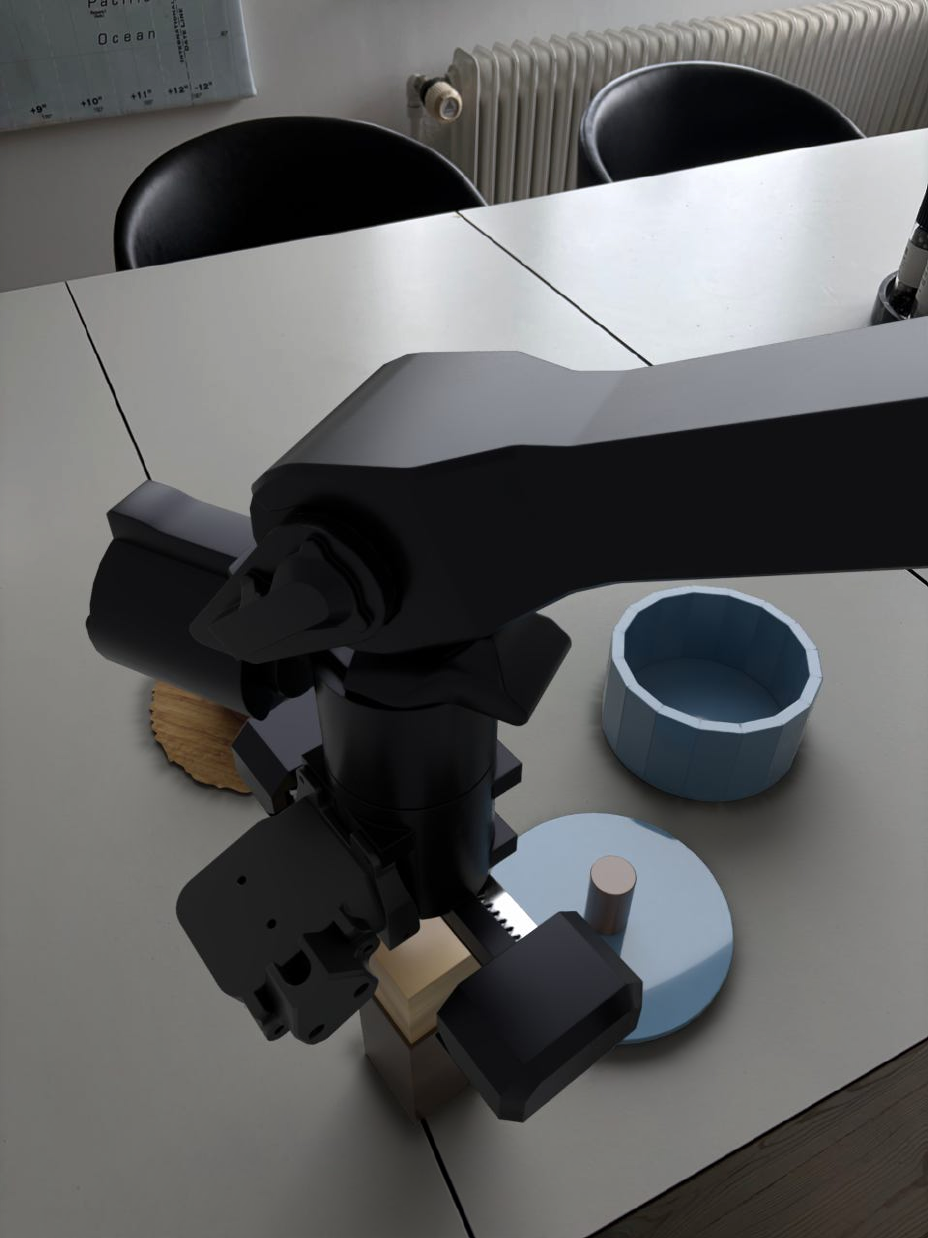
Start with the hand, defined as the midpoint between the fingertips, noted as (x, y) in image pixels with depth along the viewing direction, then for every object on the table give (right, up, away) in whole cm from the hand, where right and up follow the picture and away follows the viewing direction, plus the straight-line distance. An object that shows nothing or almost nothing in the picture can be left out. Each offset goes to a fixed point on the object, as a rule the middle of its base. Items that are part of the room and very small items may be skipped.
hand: (423, 972), depth 44 cm
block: (0, -1, +1) cm, 1 cm away
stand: (0, -6, +6) cm, 9 cm away
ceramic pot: (-10, +10, +24) cm, 28 cm away
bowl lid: (+10, -1, +11) cm, 15 cm away
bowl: (+17, +8, +22) cm, 29 cm away
